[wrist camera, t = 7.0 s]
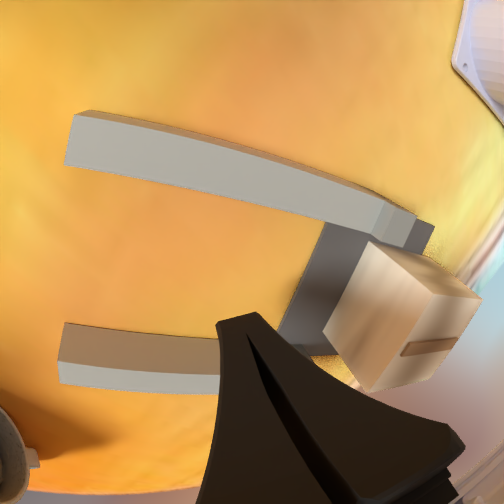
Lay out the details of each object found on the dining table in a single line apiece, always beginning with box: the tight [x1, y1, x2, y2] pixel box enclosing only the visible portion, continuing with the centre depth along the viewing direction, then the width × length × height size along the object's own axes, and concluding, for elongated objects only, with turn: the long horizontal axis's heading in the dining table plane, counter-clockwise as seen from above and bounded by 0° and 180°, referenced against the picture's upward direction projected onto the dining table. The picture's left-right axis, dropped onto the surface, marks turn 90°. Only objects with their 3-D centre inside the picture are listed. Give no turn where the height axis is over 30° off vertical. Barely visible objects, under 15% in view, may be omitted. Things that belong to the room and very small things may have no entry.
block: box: [322, 241, 483, 393], centre depth 16 cm, size 6×6×5 cm
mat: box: [276, 219, 435, 356], centre depth 18 cm, size 8×10×1 cm
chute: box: [57, 110, 417, 394], centre depth 13 cm, size 13×11×3 cm
